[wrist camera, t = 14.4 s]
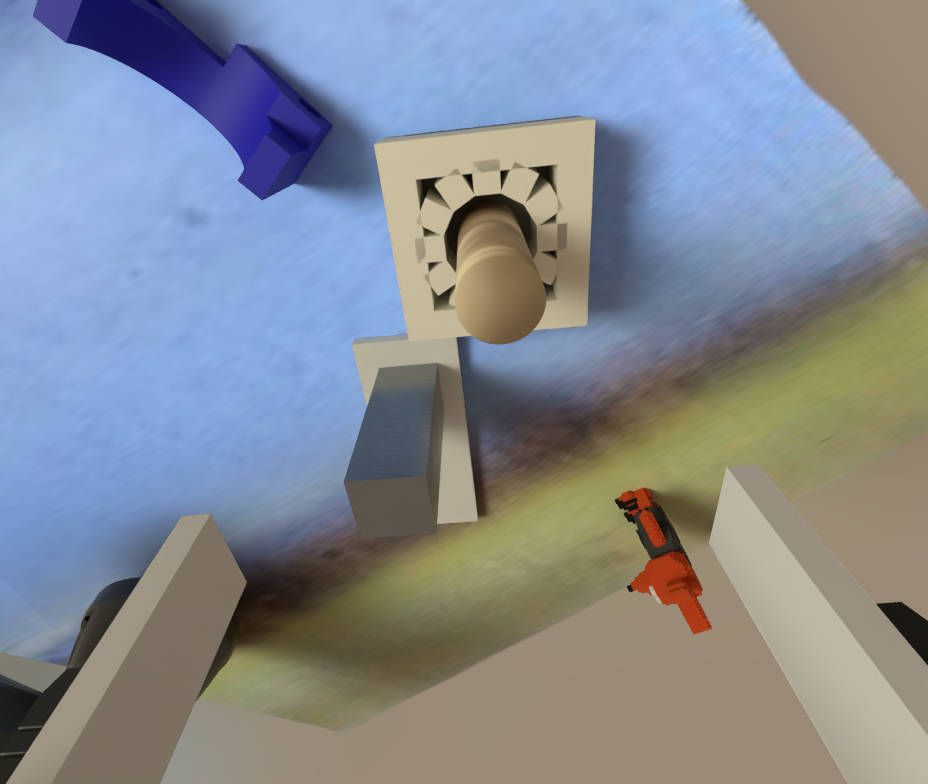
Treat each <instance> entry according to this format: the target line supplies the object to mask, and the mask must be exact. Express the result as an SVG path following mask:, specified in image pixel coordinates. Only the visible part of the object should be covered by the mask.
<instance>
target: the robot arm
mask: <svg viewBox="0 0 928 784" xmlns="http://www.w3.org/2000/svg"><path fill="white" fill-rule="evenodd" d="M709 544H710V546H711V548H712V549H713V551H714V553H715V555H716V556H717V558H718V560H719V562H720V563H721V565H722V567H723V569H724V570H725V572H726V574H727V575H728V577H729V579H730V581H731V582H732V584H733V586H734V588H735V589H736V591H737V593H738V595H739V596H740V598H741V600H742V601H743V603H744V605H745V607H746V608H747V610H748V612H749V614H750V615H751V617H752V619H753V620H754V622H755V624H756V625H757V627H758V629H759V631H760V633H761V634H762V636H763V638H764V639H765V641H766V643H767V645H768V647H769V648H770V650H771V652H772V653H773V655H774V657H775V659H776V660H777V662H778V664H779V665H780V667H781V669H782V671H783V672H784V674H785V676H786V678H787V679H788V681H789V683H790V685H791V686H792V688H793V690H794V692H795V693H796V695H797V697H798V698H799V700H800V702H801V703H802V705H803V707H804V709H805V711H806V712H807V714H808V716H809V718H810V719H811V721H812V722H813V724H814V726H815V728H816V730H817V731H818V733H819V735H820V736H821V738H822V740H823V742H824V744H825V745H826V747H827V749H828V751H829V752H830V754H831V756H832V757H833V759H834V761H835V762H836V764H837V766H838V768H839V769H840V771H841V773H842V775H843V776H844V778H845V780H846V782H847V783H848V784H928V621H927V620H926V619H924V618H923V617H922V616H920V615H919V614H917V613H916V612H915V611H913V610H912V609H910V608H909V607H907V606H906V605H905V604H903V603H902V602H894V603H881V604H875V603H874V601H873V600H872V599H871V598H870V597H869V595H868V594H867V593H866V592H865V590H864V589H863V588H862V587H861V586H860V585H859V583H858V582H857V581H856V580H855V579H854V578H853V576H852V575H851V574H850V573H849V571H848V570H847V569H846V568H845V567H844V566H843V564H842V563H841V562H840V561H839V559H838V558H837V557H836V556H835V555H834V554H833V552H832V551H831V550H830V549H829V548H828V547H827V545H826V544H825V543H824V542H823V540H822V539H821V538H820V537H819V536H818V535H817V533H816V532H815V531H814V530H813V529H812V527H811V526H810V525H809V524H808V523H807V521H806V520H805V519H804V518H803V517H802V515H801V514H800V513H799V512H798V511H797V510H796V508H795V507H794V506H793V505H792V504H791V502H790V501H789V500H788V499H787V498H786V496H785V495H784V494H783V493H782V492H781V490H780V489H779V488H778V487H777V486H776V485H775V483H774V482H773V481H772V480H771V479H770V477H769V476H768V475H767V474H766V473H765V471H764V470H763V469H762V468H761V467H760V465H759V464H754V465H743V466H731V467H727V468H726V472H725V477H724V481H723V485H722V489H721V494H720V498H719V502H718V506H717V511H716V515H715V519H714V523H713V528H712V532H711V536H710V540H709ZM246 583H247V582H246V580H245V578H244V576H243V574H242V572H241V570H240V568H239V566H238V564H237V563H236V561H235V559H234V557H233V555H232V553H231V551H230V549H229V547H228V546H227V544H226V542H225V540H224V538H223V536H222V534H221V532H220V530H219V529H218V527H217V525H216V523H215V521H214V519H213V517H212V515H211V514H201V515H190V516H182V517H181V518H180V520H179V521H178V523H177V524H176V526H175V527H174V529H173V530H172V532H171V534H170V535H169V537H168V538H167V540H166V541H165V543H164V544H163V546H162V547H161V549H160V550H159V552H158V553H157V555H156V556H155V558H154V559H153V561H152V562H151V564H150V565H149V567H148V569H147V570H146V572H145V573H144V575H143V576H142V578H130V579H125V580H121V581H117V582H115V583H112V584H110V585H108V586H107V587H105V588H104V589H103V590H102V591H101V592H100V593H99V594H98V596H97V597H96V598H95V600H94V601H93V603H92V604H91V605H90V607H89V608H88V610H87V611H86V613H85V615H84V617H83V620H82V623H81V630H80V632H79V634H78V637H77V639H76V642H75V644H74V647H73V650H72V653H71V656H70V659H69V662H68V665H67V668H66V671H65V672H64V673H63V674H62V675H60V677H58V678H57V679H56V680H55V681H54V682H53V683H52V684H51V685H50V686H49V687H48V688H47V689H46V690H45V691H44V692H43V693H42V692H40V691H37V690H35V689H32V688H30V687H28V686H26V685H23V684H21V683H19V682H17V681H14V680H12V679H10V678H8V677H5V676H3V675H1V674H0V784H160V782H161V780H162V778H163V776H164V773H165V771H166V769H167V766H168V764H169V761H170V759H171V757H172V755H173V752H174V750H175V748H176V745H177V743H178V741H179V738H180V736H181V734H182V732H183V729H184V727H185V725H186V722H187V720H188V717H189V715H190V713H191V711H192V708H193V706H194V704H195V702H196V701H197V699H198V698H199V697H200V696H201V694H202V693H203V692H204V691H205V689H206V688H207V687H208V685H209V684H210V683H211V681H212V680H213V679H214V677H215V676H216V675H217V673H218V672H219V671H220V669H221V668H222V667H223V666H224V665H225V664H226V663H227V662H228V660H229V659H230V657H231V655H232V653H233V650H234V648H235V646H236V643H237V641H238V638H239V635H240V628H239V624H238V621H237V619H236V617H235V616H234V614H233V613H234V611H235V609H236V606H237V604H238V602H239V599H240V597H241V595H242V592H243V590H244V588H245V586H246Z"/></svg>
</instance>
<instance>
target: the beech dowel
mask: <svg viewBox="0 0 928 784" xmlns="http://www.w3.org/2000/svg"><path fill="white" fill-rule="evenodd" d="M545 307H546V292H545V288H544V285H543V282H542V280H541V277H540V275H539V273H538V270H537V268H536V265H535V263H534V260H533V258H532V256H531V253H530V251H529V248H528V246H527V243H526V241H525V239H524V236H523V234H522V231H521V229H520V226H519V224H518V221H517V219H516V217H515V215H514V213H513V211H512V210H511V209H510V208H509V207H508V206H507V205H506V204H504V203H502V202H500V201H498V200H493V199H485V200H480V201H478V202H475V203H474V204H472V205H471V206H469V207H468V208H467V209H466V211H465V212H464V213H463V215H462V217H461V219H460V222H459V228H458V247H457V268H456V289H455V309H456V314H457V317H458V319H459V321H460V323H461V325H462V326H463V328H464V329H465V330H466V331H467V332H468V333H469V334H470V335H471V336H473V337H475V338H476V339H478V340H480V341H483V342H486V343H490V344H508V343H512V342H515V341H518V340H520V339H522V338H524V337H525V336H527V335H528V334H529V333H531V332H532V331H533V330H534V329H535V328H536V326H537V325H538V324H539V322H540V321H541V319H542V317H543V314H544V311H545Z"/></svg>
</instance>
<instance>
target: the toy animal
mask: <svg viewBox="0 0 928 784" xmlns="http://www.w3.org/2000/svg"><path fill="white" fill-rule="evenodd" d="M651 498H652V495H651V493H650V491H649V489H646V490H644V489H643V488H641V489H639V490H637V491H634V492H632V491H631V492H629V491H627V492H625V493H623V494H622V496H621V497H620V498H618V499H616V500H615V502H616V504H617V505H618V506H619V508H620V509H622V508H623V509H624V510H629V511H628V512H626V513H624V515H625V517H626V518H627V520H628V522H633V524H635V523H636V525H637V527H638V530H636V532H637V533H638V535H639V538H640V540H641V542H642V544H643V546H644V548H646V550H647V552H648V554H649V556H650V558H651V560H649V561H648V563H647V564H646V566H645V571H644V572H641V573H639V574H640V575H638V577H635V580H633V581H634V582H632V583H630V584H631V585H629V586H627V588H628V590H629V592H632V591H635V590H638V591H639V592H641V593H645V592H646V593H649V594H650V595H652V596H653V597H655V599H656V601H657V602H658V604H659V603H663V604H666V605H670V604H678V606H679V608H680V610H681V611H682V614H683V615H684V617H685V619H686V621H687V623H688V625H689V626H690V628H691V630H692V632H693V634H697V633H700V632H703V631H706V630H709V629H712V627H711V625H710V623H709V621H708V619H707V617H706V615H705V613H704V611H703V609H702V607H701V605H700V603H699V602H698V600H697V598H696V597H697V596H699V595H702V593H701V591H702V590H703V589H702V587H701V585H700V582H699V580H698V578H697V576H696V574H695V572H694V570H693V569H692V567H691V566H692V565H691V563H690V561H689V559H688V556H687V554H686V552H685V551H684V549H683V547H682V545H681V544H680V540H679V538H678V536H677V534H676V532H675V529H674V528H673V526H672V524H671V523H670V521H669V519H667V517H666V515H665V513H664V511H663V510H662V508H661V506H658V504H657V502H656V503H654V504H653V503H652V502H650V500H651Z"/></svg>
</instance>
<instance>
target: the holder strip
mask: <svg viewBox="0 0 928 784" xmlns="http://www.w3.org/2000/svg"><path fill="white" fill-rule="evenodd" d="M352 347H353V351H354V355H355V360H356V364H357V368H358V372H359V376H360V380H361V384H362V388H363V392H364V396H365V400H366V404H367V406H368V402H369V399H370V396H371V393H372V390H373V386H374V383H375V380H376V377H377V373H378V370H379V368H383V367H394V366H406V365H418V364H429V363H437V364H438V371H439V378H440V385H441V391H442V398H443V405H444V425H443V440H442V456H441V471H440V487H439V502H438V518H437V524H442V523H456V522H471V521H478V512H477V503H476V495H475V486H474V478H473V469H472V461H471V452H470V444H469V435H468V427H467V418H466V410H465V401H464V393H463V384H462V375H461V367H460V358H459V350H458V341H457V337H453V338H442V339H430V340H419V341H409V339H408V334H404V335H393V336H381V337H370V338H359V339H354V341H353V343H352Z"/></svg>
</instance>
